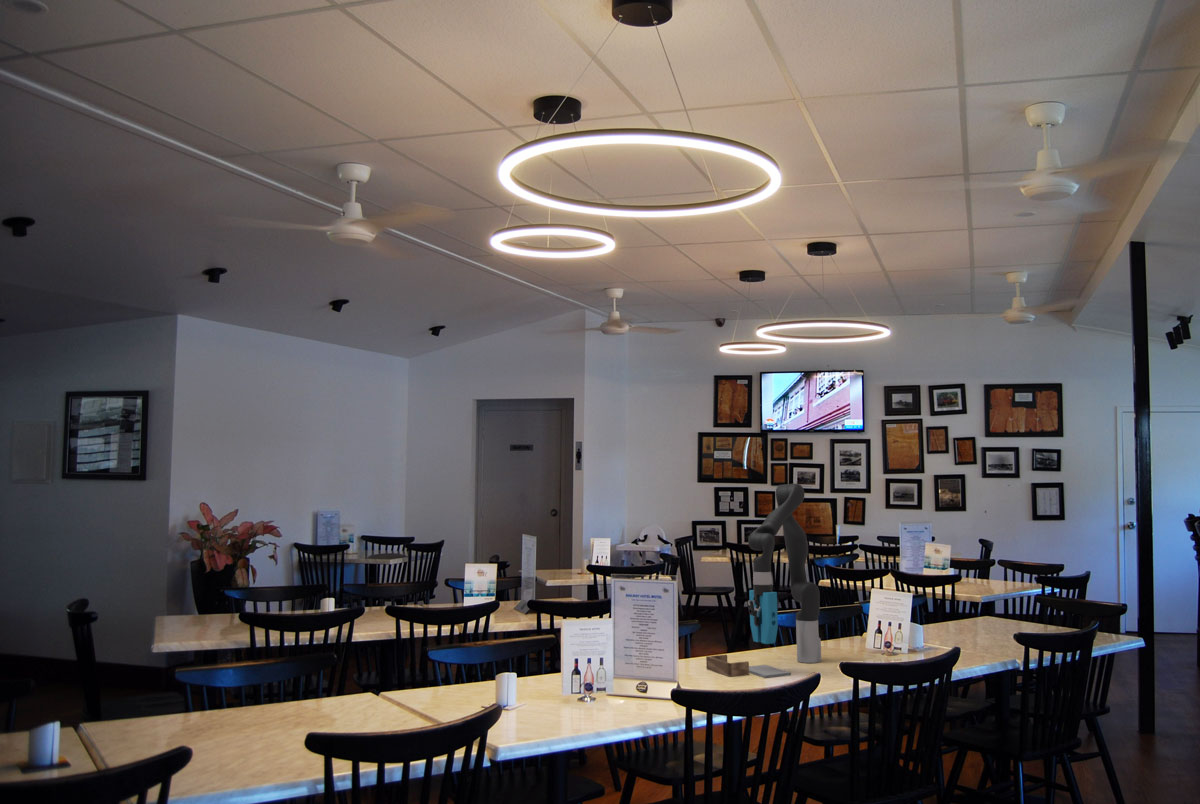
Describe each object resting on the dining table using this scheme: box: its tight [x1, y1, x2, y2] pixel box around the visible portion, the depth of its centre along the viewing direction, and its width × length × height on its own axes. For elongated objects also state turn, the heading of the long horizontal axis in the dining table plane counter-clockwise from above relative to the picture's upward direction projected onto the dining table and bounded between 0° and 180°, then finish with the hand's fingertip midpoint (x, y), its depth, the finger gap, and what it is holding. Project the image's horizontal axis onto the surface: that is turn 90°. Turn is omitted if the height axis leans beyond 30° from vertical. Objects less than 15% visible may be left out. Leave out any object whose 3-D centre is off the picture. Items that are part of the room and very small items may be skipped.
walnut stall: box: [705, 654, 750, 678], centre depth 364 cm, size 9×17×5 cm, turn 24°
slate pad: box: [749, 664, 792, 679], centre depth 362 cm, size 12×18×1 cm, turn 24°
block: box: [748, 589, 779, 645], centre depth 364 cm, size 12×5×20 cm, turn 32°
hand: (763, 625), depth 363 cm, fingers closed on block, 5 cm apart
